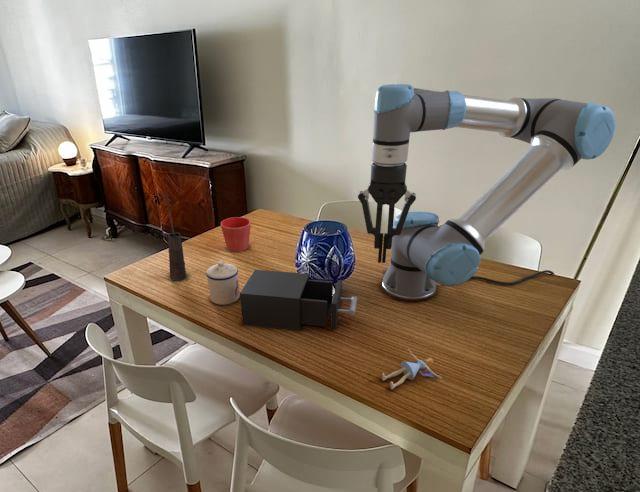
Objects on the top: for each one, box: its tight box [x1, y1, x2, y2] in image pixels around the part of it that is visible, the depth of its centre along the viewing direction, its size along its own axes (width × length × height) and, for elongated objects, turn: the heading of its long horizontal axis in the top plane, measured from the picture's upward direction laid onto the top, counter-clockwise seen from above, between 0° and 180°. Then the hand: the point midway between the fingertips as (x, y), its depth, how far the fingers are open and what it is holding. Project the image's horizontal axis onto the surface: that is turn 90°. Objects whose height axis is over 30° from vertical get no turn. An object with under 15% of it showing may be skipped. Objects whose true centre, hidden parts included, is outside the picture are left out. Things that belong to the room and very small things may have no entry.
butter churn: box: [165, 190, 187, 281], centre depth 138 cm, size 9×10×28 cm
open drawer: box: [300, 278, 358, 331], centre depth 119 cm, size 19×12×8 cm, turn 76°
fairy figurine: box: [381, 347, 443, 390], centre depth 99 cm, size 12×5×12 cm
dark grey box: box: [239, 269, 310, 331], centre depth 122 cm, size 16×14×10 cm
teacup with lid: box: [205, 260, 240, 306], centre depth 131 cm, size 12×9×12 cm
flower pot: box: [220, 216, 252, 252], centre depth 162 cm, size 11×11×10 cm
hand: (381, 260), depth 109 cm, fingers closed
